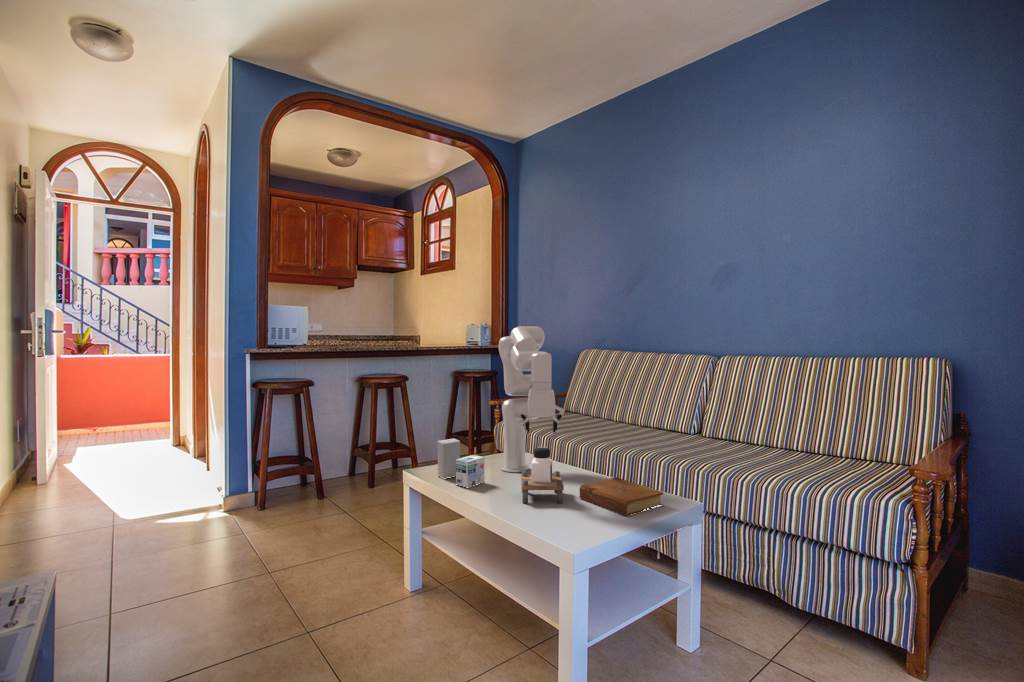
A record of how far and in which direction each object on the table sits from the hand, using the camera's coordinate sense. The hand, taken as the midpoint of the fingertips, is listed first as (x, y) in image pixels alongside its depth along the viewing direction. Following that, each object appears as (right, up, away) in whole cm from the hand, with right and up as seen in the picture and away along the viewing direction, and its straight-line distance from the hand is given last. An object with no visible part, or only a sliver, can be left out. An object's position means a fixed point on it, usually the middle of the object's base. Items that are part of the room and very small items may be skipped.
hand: (541, 432), depth 196 cm
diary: (+28, -25, -6) cm, 38 cm away
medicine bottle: (0, -18, 0) cm, 18 cm away
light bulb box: (-28, -25, +18) cm, 41 cm away
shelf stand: (0, -24, 0) cm, 24 cm away
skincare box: (-38, -25, +29) cm, 54 cm away
